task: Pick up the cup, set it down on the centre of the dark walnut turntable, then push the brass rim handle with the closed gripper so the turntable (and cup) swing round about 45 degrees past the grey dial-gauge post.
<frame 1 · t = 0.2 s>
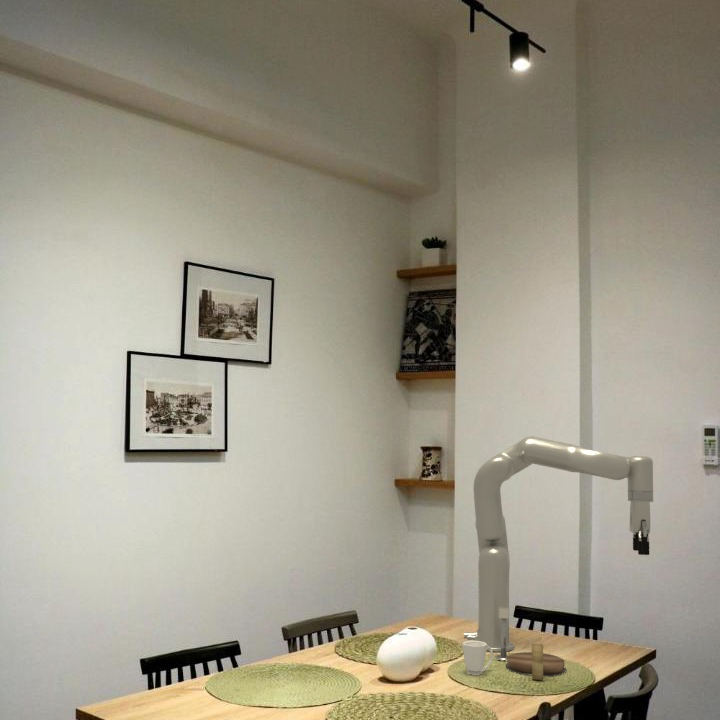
hand: (641, 552, 262), 31 cm above the table, fingers open, 9 cm apart
gauge post: (503, 659, 253), on the table
turntable: (536, 652, 241), point 5 cm above the table, hinge at 0.0°
cup: (478, 673, 238), on the table
turntable base: (535, 668, 244), on the table
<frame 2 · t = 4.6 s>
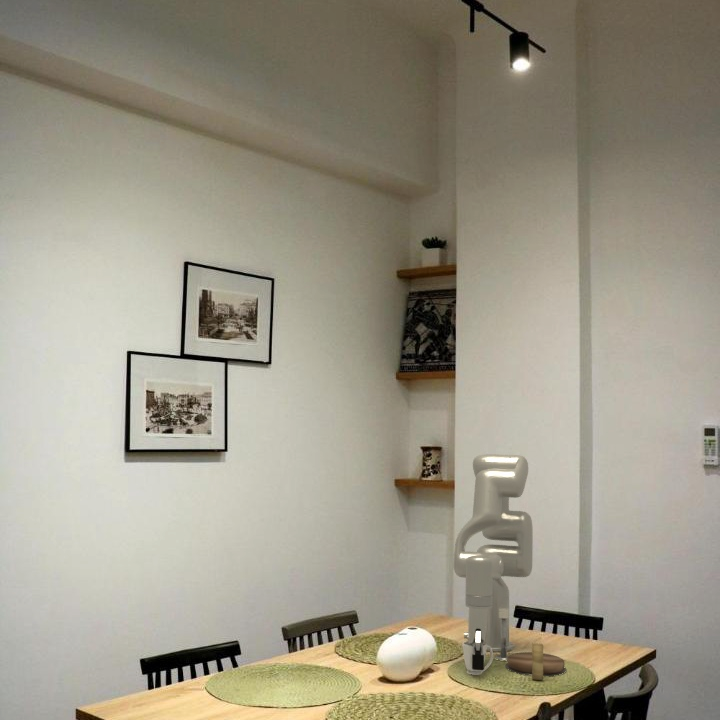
hand: (478, 665, 238), 2 cm above the table, fingers closed on cup, 7 cm apart
cup: (478, 673, 238), on the table, touching gripper
everything else where it was.
when the fingers open (5 cm above the table, at t = 10.0 s): cup stays where it is, resting on turntable.
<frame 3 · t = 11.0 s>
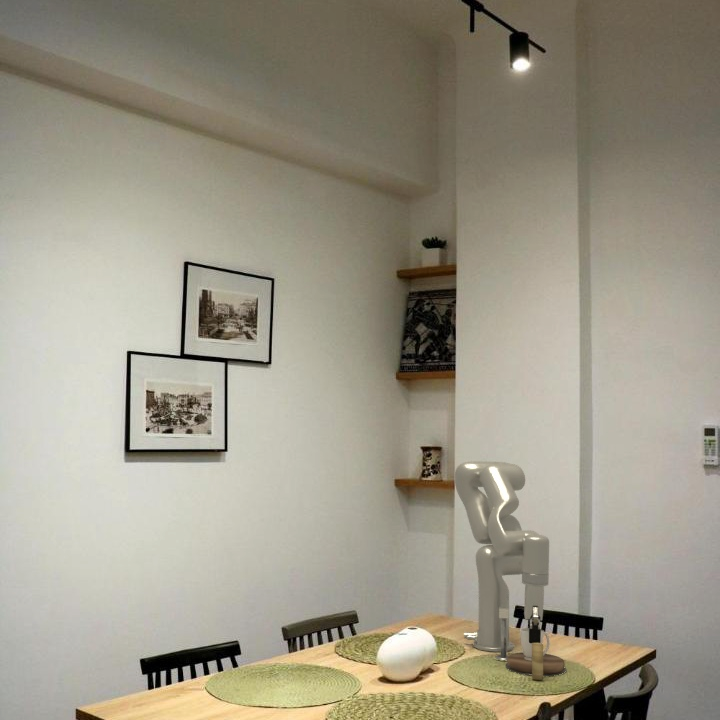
hand: (533, 638, 245), 8 cm above the table, fingers open, 9 cm apart
turntable: (536, 652, 241), point 5 cm above the table, hinge at 0.0°, touching cup
cup: (535, 659, 244), point 2 cm above the table, touching gripper, turntable
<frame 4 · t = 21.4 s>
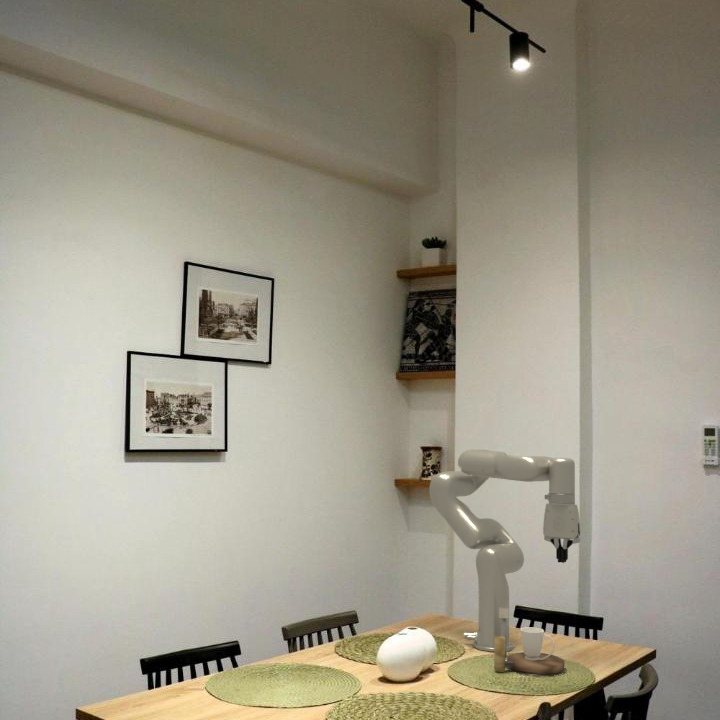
hand: (562, 561, 253), 29 cm above the table, fingers closed
turntable: (527, 651, 243), point 5 cm above the table, hinge at 57.8°, touching cup
cup: (537, 659, 244), point 2 cm above the table, touching turntable
at the end: cup 0.5 cm from the turntable (horizontally); cup tilted 0°; turntable at +58° (first picture: +0°) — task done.
